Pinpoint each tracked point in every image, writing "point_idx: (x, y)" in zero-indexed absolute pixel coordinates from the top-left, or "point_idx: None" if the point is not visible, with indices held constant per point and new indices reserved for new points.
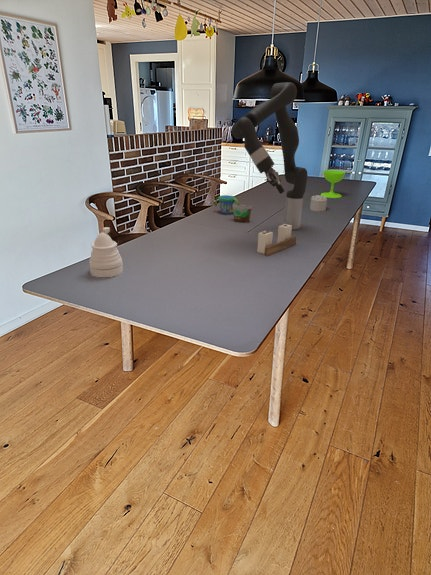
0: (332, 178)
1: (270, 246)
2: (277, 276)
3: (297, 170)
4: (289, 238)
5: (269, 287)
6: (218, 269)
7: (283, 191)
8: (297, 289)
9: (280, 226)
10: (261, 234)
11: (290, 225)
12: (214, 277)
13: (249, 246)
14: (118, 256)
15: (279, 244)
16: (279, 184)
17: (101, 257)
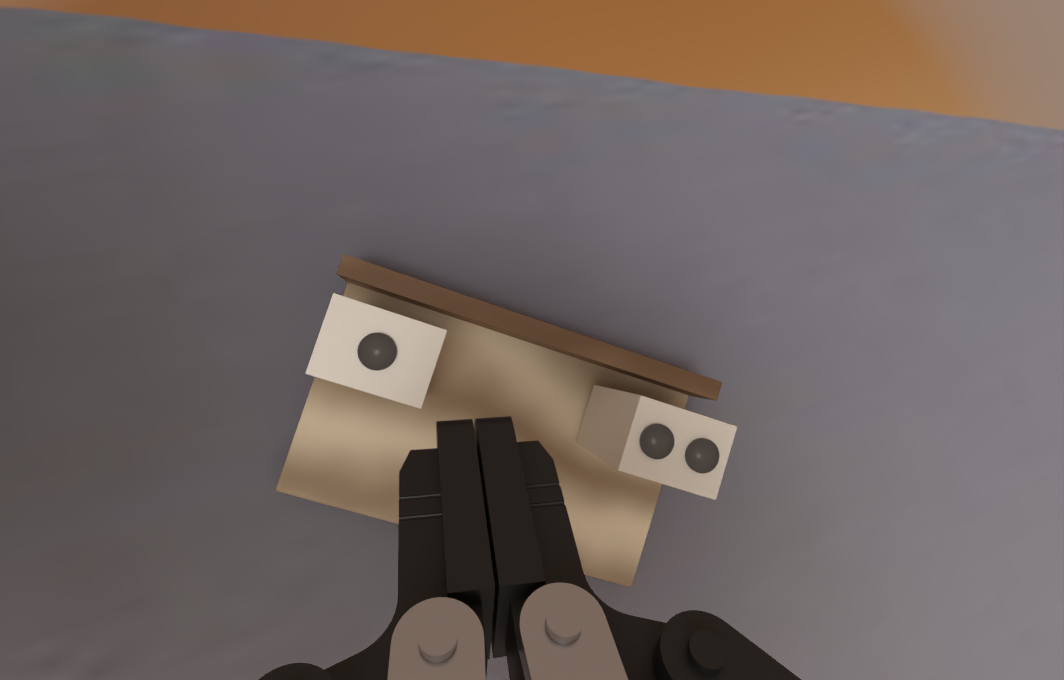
0: None
1: (678, 377)
2: (899, 247)
3: None
4: (425, 296)
5: (1028, 249)
6: (949, 565)
7: (512, 424)
8: (993, 121)
9: (423, 388)
10: (723, 468)
11: (339, 307)
12: (1040, 534)
13: None
14: None
15: (583, 336)
16: (574, 590)
17: None
